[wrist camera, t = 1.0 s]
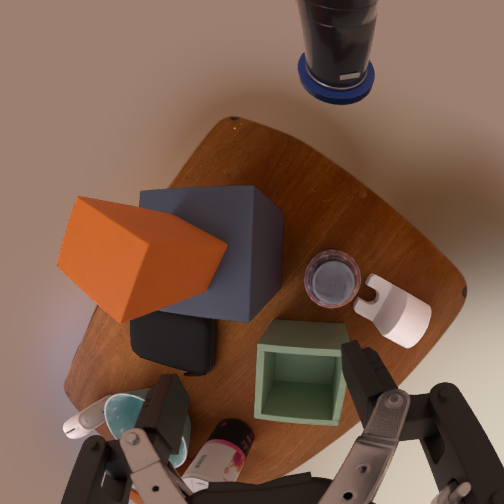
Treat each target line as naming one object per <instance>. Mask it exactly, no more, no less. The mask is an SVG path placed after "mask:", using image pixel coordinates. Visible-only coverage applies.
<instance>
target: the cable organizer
mask: <svg viewBox="0 0 504 504" xmlns="http://www.w3.org/2000/svg"><path fill="white" fill-rule="evenodd" d="M365 284H366V285H368V286H369V287H371V288H373V289H375V291H376V297H375V299H374V300H373V301H370V302H367V301H365V300H363V299H361V298H359V297H356V299H355V301H354V303H353V308H354V310H355V312H356V313H358V314H359V315H361V316H363V317H365V318H367V319H369V320H371V321H372V322H373V323H374V325H375V326H376V328H377V329H378V331H379V332H380V334H381V335H382V336H384V337H386V338H388V339H390V340H392V341H394V342H396V343H397V344H399V345H401V346H403V347H405V348H410V347H412V346H414V345H415V344H416V343H417V342H418V341H419V340H420V339H421V337H422V336H423V334H424V333H425V331H426V329H427V327H428V324H429V322H430V318H431V308H430V306H429V305H428V304H426V303H424V302H423V301H421V300H419V299H418V298H416V297H414V296H413V295H411V294H409V293H407V292H406V291H404V290H402V289H400V288H398V287H397V286H395V285H393V284H391V283H390V282H388V281H386V280H384V279H383V278H381V277H379V276H377V275H375V274H370V275H369V276H368V277H367V279H366V281H365Z"/></svg>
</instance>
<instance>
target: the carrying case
mask: <svg viewBox="0 0 504 504" xmlns="http://www.w3.org/2000/svg"><path fill="white" fill-rule="evenodd" d="M130 337H131V347H132V349H133V351H134V352H135V353H136V354H137V355H138V356H140V358H144V359H147V360H150V361H153V362H156V363H159V364H162V365H166V366H169V367H172V368H176V369H179V370H183V371H186V373H184V376H201V375H206V373H208V372H210V371H211V370H212V368H213V367H214V360H215V339H216V324H215V321H214V319H212V318H205V317H197V316H190V315H183V314H177V313H170V312H164V311H158V310H157V311H154V312H151V313H149V314H146V315H143V316H141V317H138V318H135V319H133V320H130Z"/></svg>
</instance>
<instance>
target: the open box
mask: <svg viewBox="0 0 504 504" xmlns="http://www.w3.org/2000/svg"><path fill="white" fill-rule="evenodd" d="M347 342H350V340H349V336H348V333H347V330H346V326H345V324H344V323H325V322H307V321H292V320H279V319H274V320H273V321H272V322H271V324H270V326H269V327H268V329H267V330H266V332H265V333H264V335H263V336H262V338H261V339H260V341H259V342H258V344H257V364H256V385H255V406H254V418H257V419H264V420H272V421H280V422H289V423H300V424H314V425H335V426H338V424H339V420H340V416H341V411H342V406H343V402H344V397H345V392H346V386H347V384H346V381H345V379H344V376H343V371H342V359H341V344H343V343H347Z"/></svg>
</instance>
